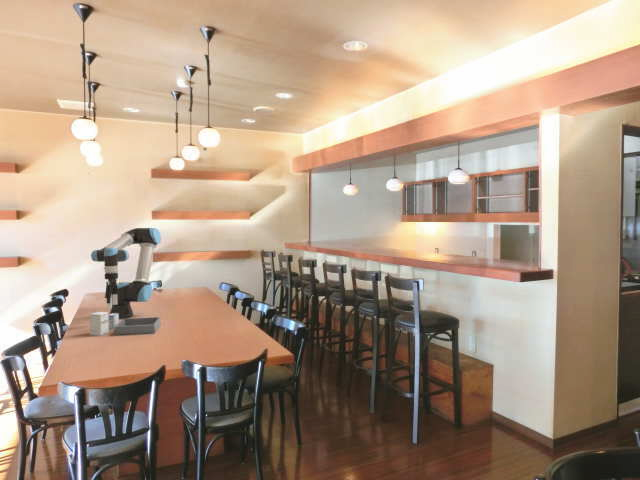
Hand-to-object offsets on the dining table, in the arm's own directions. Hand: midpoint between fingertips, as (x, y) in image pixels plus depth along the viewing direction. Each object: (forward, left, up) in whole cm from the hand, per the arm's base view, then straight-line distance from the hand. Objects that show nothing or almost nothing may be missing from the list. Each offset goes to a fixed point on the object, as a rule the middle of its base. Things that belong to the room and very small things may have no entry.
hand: (112, 306), depth 276 cm
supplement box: (+14, -4, -14) cm, 20 cm away
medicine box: (0, 0, -14) cm, 14 cm away
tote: (+9, +17, -14) cm, 24 cm away
